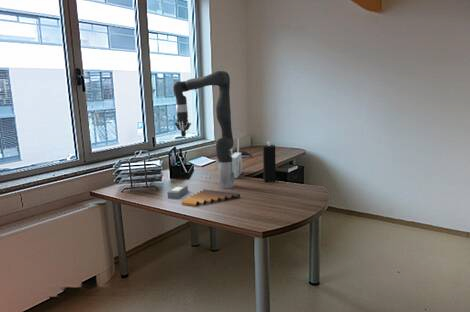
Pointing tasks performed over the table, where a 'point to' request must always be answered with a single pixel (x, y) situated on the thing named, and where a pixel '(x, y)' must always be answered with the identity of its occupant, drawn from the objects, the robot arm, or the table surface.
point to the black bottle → (269, 162)
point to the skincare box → (236, 164)
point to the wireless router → (243, 153)
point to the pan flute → (209, 197)
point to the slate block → (177, 191)
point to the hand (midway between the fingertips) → (183, 136)
